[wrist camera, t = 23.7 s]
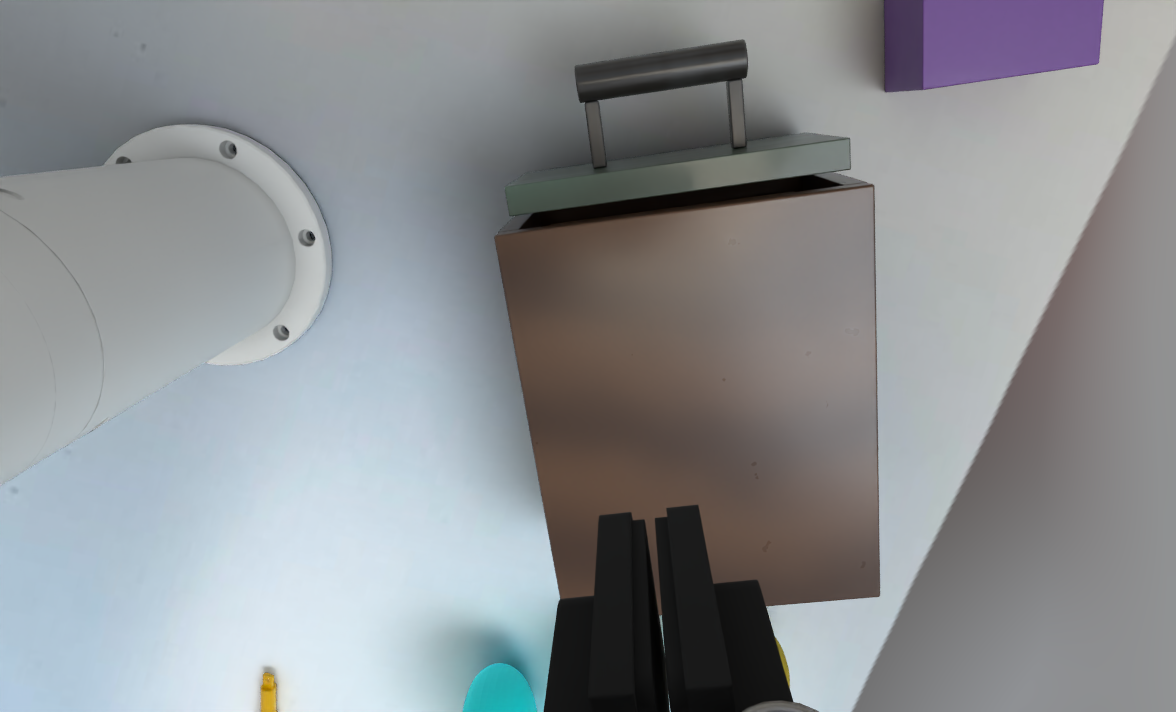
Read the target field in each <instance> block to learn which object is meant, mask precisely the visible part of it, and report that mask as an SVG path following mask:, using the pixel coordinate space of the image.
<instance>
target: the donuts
mask: <svg viewBox="0 0 1176 712" xmlns="http://www.w3.org/2000/svg"><path fill="white" fill-rule="evenodd" d="M463 712H537V708H536V703H535V699H534V696H533V693H532V690H531V688H530V686H529V684H528V682H527V680H526V679H525V677H524V676H523V675H522V674H521V673H520V672H519V671H518V670H517V669H516V668H514V667H512V666H510V665H508V664H503V663H496V664H492V665H489V666H487V667H486V668H484V669H483V670H481V671H480V672H479V674H478V675H477V676H476V677H475V679H474V680H473V682H472V684H471V686H470V688H469V691H468V693H467V696H466V699H465V703H464V707H463Z"/></svg>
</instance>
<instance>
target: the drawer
mask: <svg viewBox="0 0 1176 712" xmlns="http://www.w3.org/2000/svg"><path fill="white" fill-rule="evenodd" d="M747 72H748V57H747V48H746V44H745V41H744V40H743V39H742V40H736V41H729V42H723V43H717V44H710V45H704V46H697V47H691V48H684V49H678V50H672V51H665V52H659V53H652V54H646V55H640V56H633V57H627V58H620V59H614V60H607V61H601V62H595V63H588V64H582V65H576V66H575V77H576V85H577V92H578V97H579V101H580V103H585V102H586V103H585V111H586V119H587V126H588V134H589V141H590V148H591V156H592V163H590V164H583V165H576V166H569V167H562V168H555V169H548V170H541V171H534V172H527V173H526V174H524V175H523V176H521V177H519V178H518V179H516V180H515V181H513V182H512V183H510V184H508V185H507V186H505V193H506V199H507V204H508V210H509V215H510V216H516V215H523V214H531V213H538V212H545V211H552V210H560V209H567V208H574V207H581V206H589V205H596V204H603V203H611V202H618V201H625V200H632V199H640V198H647V197H654V196H661V195H669V194H676V193H683V192H690V191H698V190H705V189H712V188H720V187H727V186H734V185H741V184H749V183H756V182H763V181H770V180H778V179H785V178H792V177H800V176H807V175H814V174H821V173H829V172H836V171H843V170H850V169H851V159H850V138H846V137H838V136H830V135H822V134H813V133H800V134H793V135H786V136H779V137H772V138H765V139H758V140H751V141H746V128H745V113H744V99H743V84H742V79H744V78H746V77H747ZM724 81H727V82H726V87H727V100H728V114H729V127H730V141H731V143H730V144H723V145H716V146H709V147H702V148H695V149H688V150H681V151H674V152H667V153H660V154H653V155H646V156H639V157H632V158H625V159H618V160H611V161H606V153H605V145H604V137H603V130H602V122H601V114H600V106H599V101H598V100H605V99H611V98H618V97H624V96H631V95H638V94H644V93H651V92H658V91H664V90H671V89H678V88H684V87H691V86H697V85H704V84H711V83H717V82H724ZM792 192H794V191H792ZM792 192H784V193H777V194H769V195H762V196H755V197H763V196H770V195H778V194H785V193H792ZM755 197H747V198H740V199H733V200H741V199H748V198H755ZM733 200H725V201H718V202H711V203H719V202H726V201H733ZM711 203H703V204H696V205H688V206H681V207H674V208H682V207H689V206H697V205H704V204H711ZM674 208H666V209H659V210H652V211H660V210H667V209H674ZM652 211H644V212H637V213H630V214H638V213H645V212H652ZM630 214H622V215H615V216H623V215H630ZM615 216H607V217H600V218H593V219H601V218H608V217H615ZM593 219H585V220H578V221H571V222H579V221H586V220H593ZM571 222H563V223H556V224H551V225H557V224H564V223H571Z"/></svg>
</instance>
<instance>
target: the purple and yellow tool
mask: <svg viewBox="0 0 1176 712" xmlns="http://www.w3.org/2000/svg"><path fill="white" fill-rule="evenodd" d="M276 687H277V686H276V683H275V682H274V675H272V674H269V673H266V672H265V673H264V674H263V684H262V686H261V703H260V712H278V711H277V710H276Z"/></svg>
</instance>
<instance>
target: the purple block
mask: <svg viewBox="0 0 1176 712" xmlns="http://www.w3.org/2000/svg"><path fill="white" fill-rule="evenodd" d="M1103 3H1104V0H884V22H885V92H899V91H913V90H926V89H932V88H939V87H946V86H953V85H960V84H966V83H973V82H980V81H987V80H994V79H1000V78H1007V77H1014V76H1021V75H1028V74H1034V73H1041V72H1048V71H1055V70H1062V69H1068V68H1075V67H1082V66H1089V65H1096V64H1098V63H1099V55H1100V42H1101V29H1102V16H1103Z"/></svg>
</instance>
